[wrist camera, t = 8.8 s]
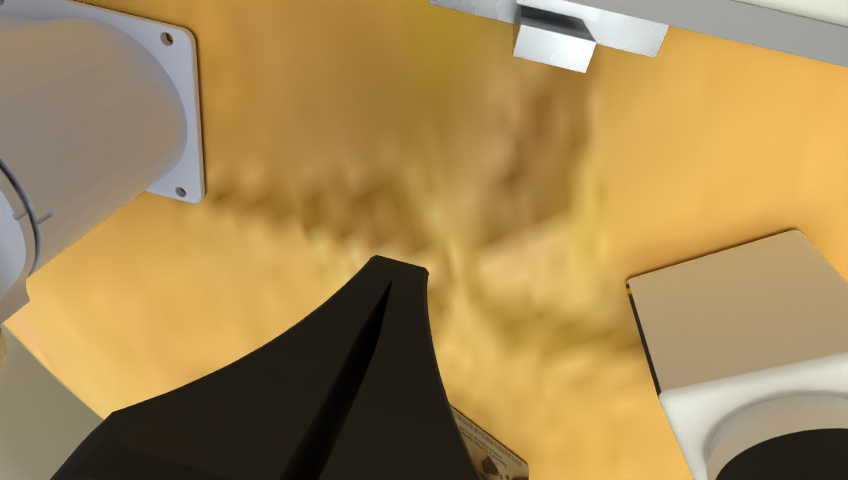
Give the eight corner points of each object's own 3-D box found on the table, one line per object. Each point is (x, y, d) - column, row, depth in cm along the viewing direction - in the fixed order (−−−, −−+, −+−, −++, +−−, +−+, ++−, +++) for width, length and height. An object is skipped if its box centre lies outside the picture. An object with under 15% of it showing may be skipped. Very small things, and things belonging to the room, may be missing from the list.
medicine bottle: (622, 277, 23) (700, 547, 13) (799, 223, 21) (1061, 513, 11) (665, 379, 26) (755, 663, 16) (824, 344, 24) (1048, 658, 14)
